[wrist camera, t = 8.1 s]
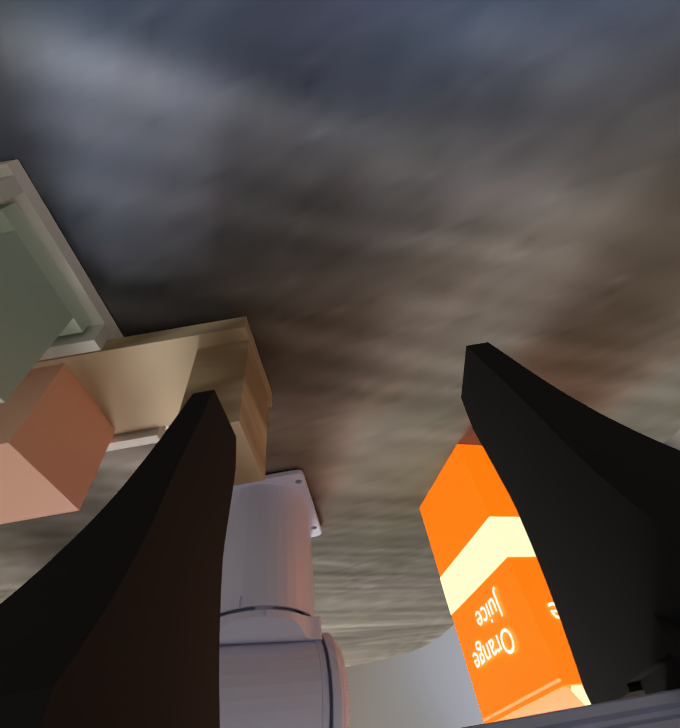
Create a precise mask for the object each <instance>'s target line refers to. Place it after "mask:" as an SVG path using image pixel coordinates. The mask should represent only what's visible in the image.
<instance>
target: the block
mask: <svg viewBox="0 0 680 728" xmlns="http://www.w3.org/2000/svg"><path fill="white" fill-rule="evenodd" d="M114 433H115V429H114V428H113V426H112V425H111V424H110V422H109V421H108V420H107V418H106V417H105V416H104V414H103V413H102V412H101V410H100V409H99V408H98V406H97V405H96V404H95V402H94V401H93V400H92V398H91V397H90V396H89V394H88V393H87V392H86V390H85V389H84V388H83V386H82V385H81V384H80V382H79V381H78V380H77V378H76V377H75V376H74V374H73V373H72V372H71V371H70V369H69V368H68V367H67V365H66V364H65V363H63V364H58V365H52V366H46V367H40V368H34V369H31V371H30V372H29V373H28V374H27V376H26V377H25V378H24V379H23V380H22V382H21V383H20V384H19V385H18V387H17V388H16V389H15V390H14V392H13V393H12V394H11V395H10V397H9V398H8V399H7V400H6V401H5V402H4V403H0V524H4V523H10V522H16V521H21V520H27V519H33V518H38V517H44V516H50V515H56V514H61V513H67V512H73V511H78V510H80V508H81V506H82V503H83V501H84V499H85V497H86V495H87V492H88V490H89V488H90V486H91V484H92V481H93V479H94V477H95V475H96V472H97V470H98V468H99V466H100V464H101V461H102V459H103V457H104V455H105V453H106V450H107V448H108V446H109V444H110V442H111V439H112V437H113V435H114Z"/></svg>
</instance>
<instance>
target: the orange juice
mask: <svg viewBox="0 0 680 728" xmlns="http://www.w3.org/2000/svg"><path fill="white" fill-rule="evenodd" d="M420 511H421V514H422V517H423V521H424V524H425V527H426V531H427V534H428V537H429V541H430V544H431V547H432V551H433V554H434V557H435V561H436V564H437V567H438V571H439V574H440V580H441V583H442V587H443V590H444V593H445V597H446V600H447V603H448V607H449V610H450V613H451V615H452V617H453V621H454V624H455V627H456V631H457V634H458V637H459V641H460V644H461V647H462V651H463V654H464V657H465V661H466V664H467V667H468V671H469V674H470V677H471V681H472V684H473V687H474V691H475V694H476V697H477V701H478V704H479V707H480V711H481V714H482V717H483V721H484V724H485V723H491V722H496V721H502V720H508V719H513V718H519V717H524V716H530V715H535V714H541V713H547V712H552V711H558V710H563V709H569V708H574V707H580V706H585V705H591V703H590V701H589V699H588V697H587V695H586V693H585V690H584V688H583V685H582V682H581V679H580V676H579V673H578V670H577V667H576V664H575V661H574V658H573V655H572V652H571V649H570V646H569V644H568V641H567V638H566V635H565V632H564V629H563V626H562V623H561V620H560V618H559V615H558V612H557V610H556V607H555V604H554V602H553V599H552V596H551V594H550V591H549V588H548V586H547V583H546V580H545V578H544V575H543V573H542V570H541V568H540V565H539V563H538V560H537V558H536V555H535V553H534V550H533V548H532V545H531V543H530V540H529V538H528V536H527V533H526V531H525V528H524V526H523V524H522V521H521V519H520V517H519V514H518V512H517V510H516V508H515V506H514V504H513V502H512V500H511V498H510V496H509V494H508V492H507V490H506V488H505V486H504V484H503V483H502V481H501V479H500V477H499V475H498V474H497V472H496V470H495V468H494V466H493V464H492V463H491V461H490V459H489V457H488V455H487V454H486V452H485V450H484V448H483V446H481V445H463V444H457V445H456V447H455V449H454V450H453V452H452V454H451V455H450V457H449V459H448V460H447V462H446V464H445V465H444V467H443V469H442V470H441V472H440V474H439V476H438V477H437V479H436V481H435V482H434V484H433V486H432V487H431V489H430V491H429V492H428V494H427V496H426V497H425V499H424V501H423V502H422V504H421V506H420Z"/></svg>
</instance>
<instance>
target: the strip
mask: <svg viewBox="0 0 680 728" xmlns="http://www.w3.org/2000/svg"><path fill="white" fill-rule="evenodd" d="M90 322H91V319H90V318H89V316H88V315H87V313H86V312H85V310H84V309H83V307H82V305H81V304H80V302H79V301H78V299H77V298H76V296H75V294H74V293H73V291H72V290H71V288H70V287H69V285H68V283H67V282H66V280H65V279H64V277H63V276H62V274H61V273H60V271H59V269H58V268H57V266H56V265H55V263H54V262H53V260H52V258H51V257H50V255H49V254H48V252H47V251H46V249H45V247H44V246H43V244H42V243H41V241H40V240H39V238H38V237H37V235H36V233H35V232H34V230H33V229H32V227H31V226H30V224H29V222H28V221H27V219H26V218H25V216H24V215H23V213H22V211H21V210H20V208H19V207H18V205H17V204H16V202H12V203H6V204H0V403H4V402H5V401H6V400H7V399H8V398H9V397H10V395H11V394H12V393H13V392H14V390H15V389H16V388H17V387H18V385H19V384H20V383H21V382H22V380H23V379H24V378H25V377H26V376H27V374H28V373H29V372H30V371H31V369H32V368H33V367H34V366H35V364H36V363H37V362H38V361H39V359H40V358H41V357H42V356H43V355H44V353H45V352H46V351H47V350H48V348H49V347H50V346H51V345H52V343H53V342H54V341H55V340H56V338H57V337H58V336H64V335H70V334H75V333H81V332H83V331H84V330H85V329H86V327H87V326H88V325H89V323H90Z"/></svg>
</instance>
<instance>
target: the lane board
mask: <svg viewBox="0 0 680 728" xmlns="http://www.w3.org/2000/svg"><path fill="white" fill-rule="evenodd" d="M12 202H16V204H17V205H18V207H19V208H20V210H21V211H22V213H23V215H24V216H25V218H26V219H27V221H28V222H29V224H30V226H31V227H32V229H33V230H34V232H35V233H36V235H37V237H38V238H39V240H40V241H41V243H42V244H43V246H44V247H45V249H46V251H47V252H48V254H49V255H50V257H51V258H52V260H53V262H54V263H55V265H56V266H57V268H58V269H59V271H60V273H61V274H62V276H63V277H64V279H65V280H66V282H67V283H68V285H69V287H70V288H71V290H72V291H73V293H74V294H75V296H76V298H77V299H78V301H79V302H80V304H81V305H82V307H83V309H84V310H85V312H86V313H87V315H88V316H89V318H90V319H91V322H90V323H89V325H88V326H87V327H86V329H85V330H84V331H83V332H81V333H75V334H70V335H64V336H58V337H57V338H56V340H55V341H54V342H53V343H52V345H51V346H50V347H49V348H48V350H47V351H46V352H45V353H44V355H43V356H42V357H41V358H40V359H39V361H40V360H46V359H52V358H58V357H63V356H69V355H75V354H81V353H87V352H93V351H98V350H101V349H102V347H103V346H104V344H105V343H106V341H107V340H111V339H116V338H122V337H123V335H122V333H121V332H120V330H119V328H118V327H117V325H116V323H115V321H114V320H113V318H112V316H111V315H110V313H109V311H108V310H107V308H106V306H105V305H104V303H103V301H102V300H101V298H100V296H99V295H98V293H97V291H96V290H95V288H94V286H93V284H92V283H91V281H90V279H89V278H88V276H87V274H86V273H85V271H84V269H83V268H82V266H81V264H80V263H79V261H78V259H77V258H76V256H75V254H74V253H73V251H72V249H71V247H70V246H69V244H68V242H67V241H66V239H65V237H64V236H63V234H62V232H61V231H60V229H59V227H58V226H57V224H56V222H55V221H54V219H53V217H52V216H51V214H50V212H49V210H48V209H47V207H46V205H45V204H44V202H43V200H42V199H41V197H40V195H39V194H38V192H37V190H36V189H35V187H34V185H33V184H32V182H31V180H30V179H29V177H28V175H27V173H26V172H25V170H24V168H23V167H22V165H21V163H20V162H19V160H18V159H15V160H10V161H4V162H0V204H6V203H12ZM169 426H170V425H166V426H160V427H154V428H149V429H143V430H137V431H131V432H125V433H120V434H114V435H113V437H112V439H111V442H110V444H109V446H108V448H107V450H106V451H111V450H117V449H123V448H129V447H134V446H140V445H146V444H152V443H158V441H159V440H160V439H161V437H162V436H163V435H164V432H165V429H168V428H169Z"/></svg>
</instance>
